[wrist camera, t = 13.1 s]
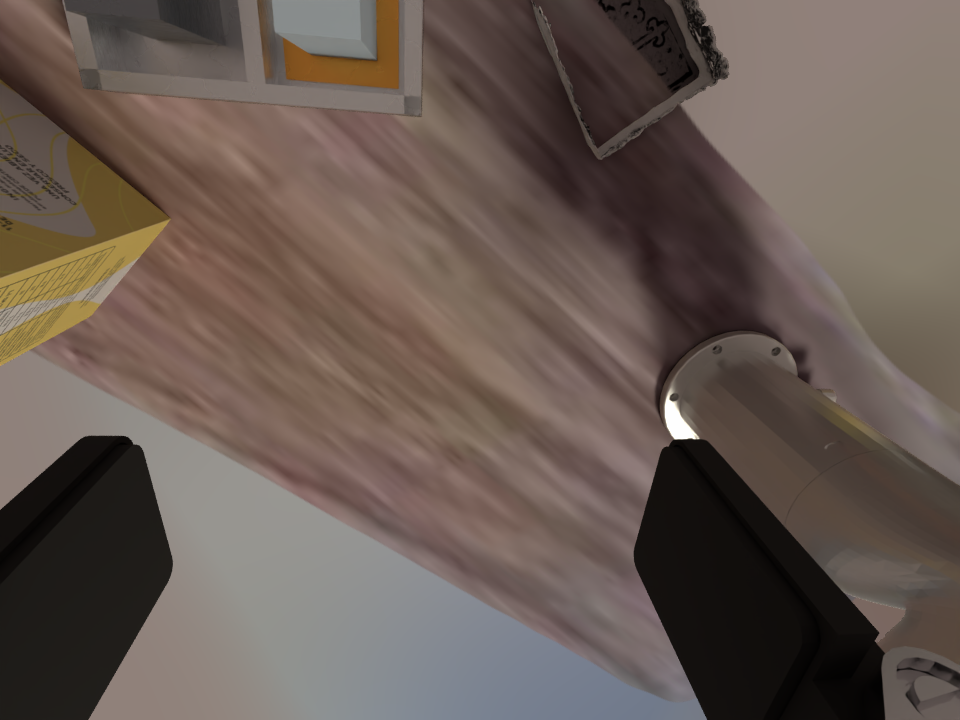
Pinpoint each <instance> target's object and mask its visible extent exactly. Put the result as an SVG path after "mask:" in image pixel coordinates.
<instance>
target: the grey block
mask: <svg viewBox="0 0 960 720" xmlns="http://www.w3.org/2000/svg"><path fill="white" fill-rule="evenodd" d="M272 7H273V18H274V28H275V32H276V33H277V34H279V35H280V36H282V37H284V38H285V39H287V40H288V41H290V42H292V43H293V44H295V45H296V46H298V47H300V48H301V49H303V50H304V51H306V52H307V53H309V54H311V55H315V56H326V57H337V58H348V59H359V60H370V61H377V21H376V0H272Z"/></svg>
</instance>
